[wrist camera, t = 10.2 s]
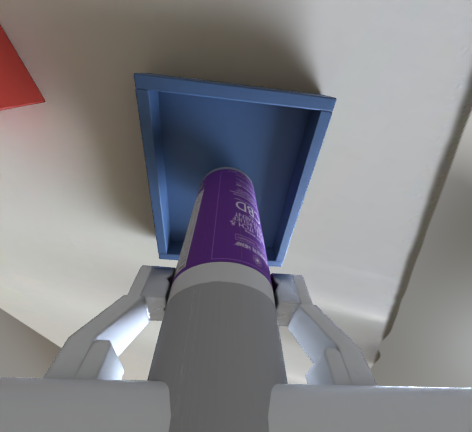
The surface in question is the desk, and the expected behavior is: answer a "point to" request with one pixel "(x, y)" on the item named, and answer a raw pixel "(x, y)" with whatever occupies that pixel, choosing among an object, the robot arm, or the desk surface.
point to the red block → (15, 78)
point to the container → (221, 316)
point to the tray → (228, 150)
